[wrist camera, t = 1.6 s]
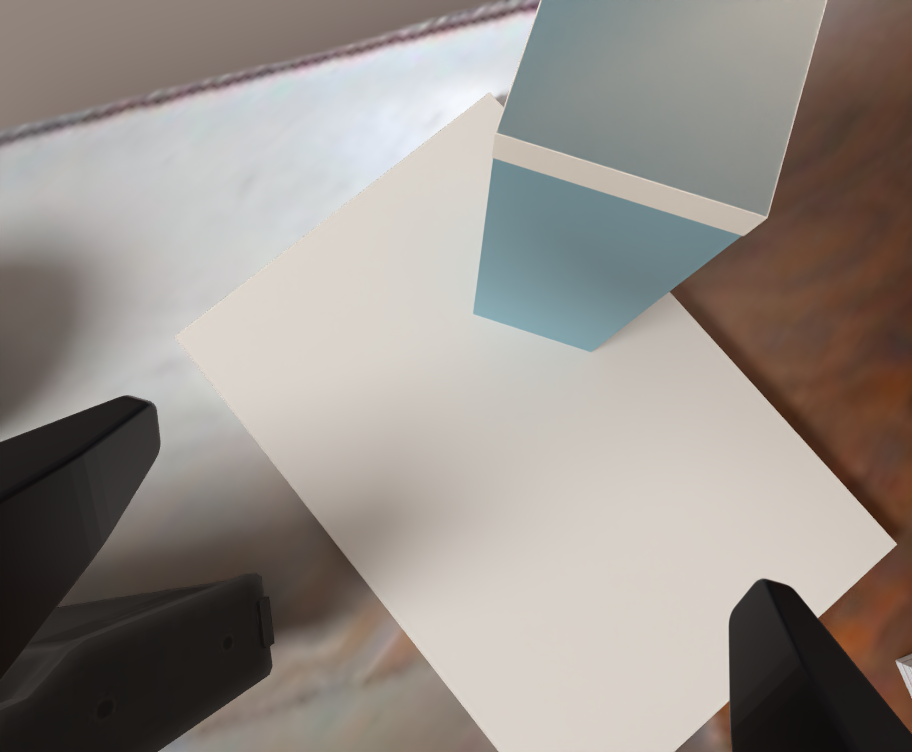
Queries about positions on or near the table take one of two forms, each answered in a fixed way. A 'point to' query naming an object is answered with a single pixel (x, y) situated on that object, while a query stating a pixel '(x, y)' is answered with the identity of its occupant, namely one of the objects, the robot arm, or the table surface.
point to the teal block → (634, 154)
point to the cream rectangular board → (525, 467)
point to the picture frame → (906, 670)
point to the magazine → (136, 668)
